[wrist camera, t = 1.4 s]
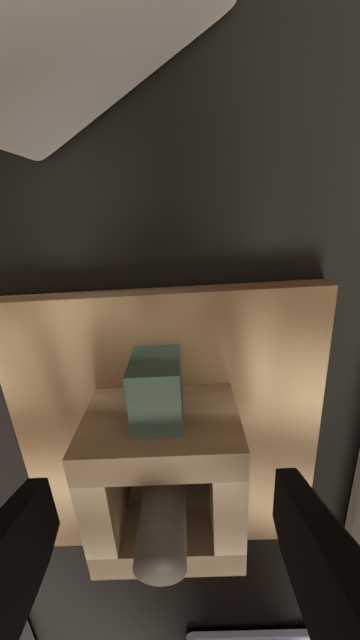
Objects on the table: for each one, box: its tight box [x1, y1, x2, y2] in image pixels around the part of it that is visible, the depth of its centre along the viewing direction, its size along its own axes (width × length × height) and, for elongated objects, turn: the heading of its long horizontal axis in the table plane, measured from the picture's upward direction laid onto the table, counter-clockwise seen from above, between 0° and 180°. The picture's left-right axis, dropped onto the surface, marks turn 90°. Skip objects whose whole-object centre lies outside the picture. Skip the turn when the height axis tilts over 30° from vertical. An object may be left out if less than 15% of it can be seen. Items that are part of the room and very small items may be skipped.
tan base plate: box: [0, 279, 338, 587], centre depth 10 cm, size 12×12×6 cm
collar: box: [62, 344, 250, 580], centre depth 10 cm, size 7×5×3 cm
